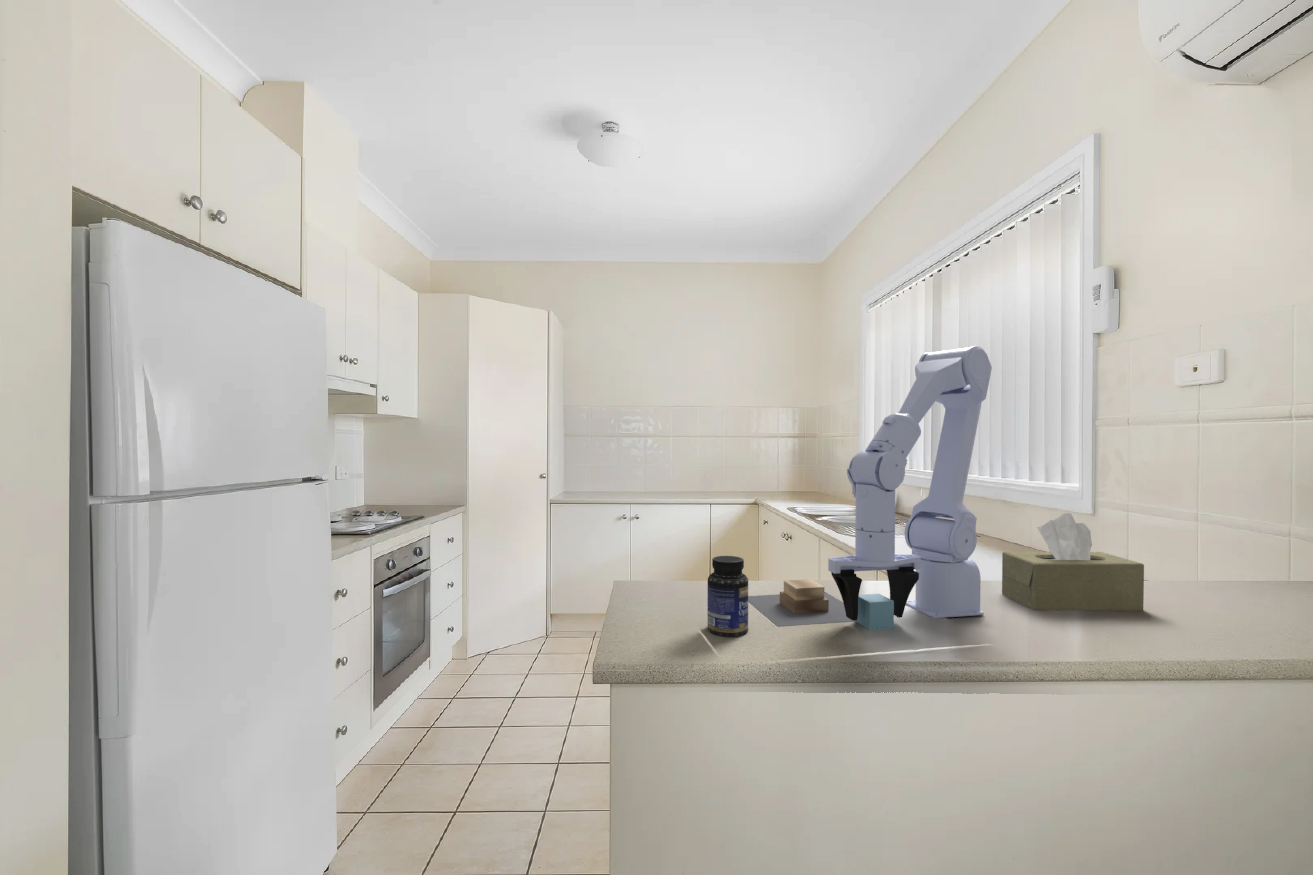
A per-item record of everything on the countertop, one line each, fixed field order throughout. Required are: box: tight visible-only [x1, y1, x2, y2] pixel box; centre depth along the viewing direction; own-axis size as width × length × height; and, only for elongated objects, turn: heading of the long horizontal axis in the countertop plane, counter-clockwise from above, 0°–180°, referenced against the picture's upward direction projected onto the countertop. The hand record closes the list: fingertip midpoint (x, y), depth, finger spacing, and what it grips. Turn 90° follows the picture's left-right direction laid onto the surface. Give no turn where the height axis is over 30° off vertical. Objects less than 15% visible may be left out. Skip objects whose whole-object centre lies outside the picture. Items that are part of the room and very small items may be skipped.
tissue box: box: [1001, 512, 1145, 612], centre depth 103 cm, size 19×10×16 cm, turn 89°
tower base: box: [779, 590, 829, 614], centre depth 99 cm, size 6×6×2 cm
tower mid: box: [783, 578, 825, 601], centre depth 99 cm, size 5×5×2 cm
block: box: [855, 593, 895, 631], centre depth 90 cm, size 4×4×4 cm
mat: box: [748, 591, 856, 628], centre depth 99 cm, size 16×16×1 cm
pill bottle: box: [706, 555, 749, 638], centre depth 88 cm, size 6×6×11 cm
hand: (874, 617), depth 90 cm, fingers open, 7 cm apart
